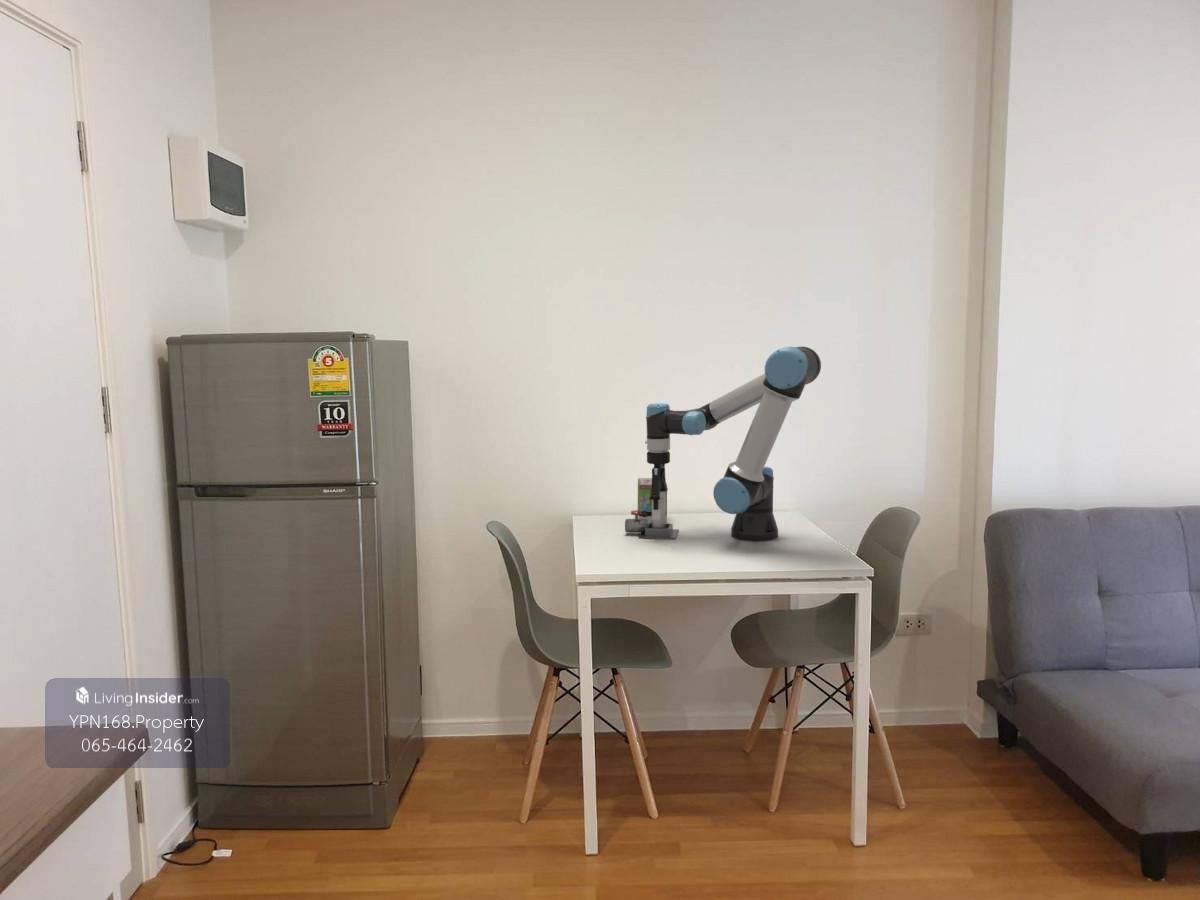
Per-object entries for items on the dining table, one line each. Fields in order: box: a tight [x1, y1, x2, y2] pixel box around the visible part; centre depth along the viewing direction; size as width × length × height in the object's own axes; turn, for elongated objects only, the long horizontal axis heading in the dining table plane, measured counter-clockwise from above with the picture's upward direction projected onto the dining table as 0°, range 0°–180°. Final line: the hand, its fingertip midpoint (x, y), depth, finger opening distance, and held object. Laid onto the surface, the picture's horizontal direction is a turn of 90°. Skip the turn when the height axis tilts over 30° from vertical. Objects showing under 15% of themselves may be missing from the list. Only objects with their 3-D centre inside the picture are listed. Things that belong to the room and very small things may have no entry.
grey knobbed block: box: [624, 509, 680, 541], centre depth 282 cm, size 17×12×8 cm
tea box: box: [637, 477, 668, 524], centre depth 302 cm, size 15×10×15 cm
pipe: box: [652, 496, 666, 528], centre depth 281 cm, size 4×4×12 cm
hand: (658, 515), depth 282 cm, fingers open, 13 cm apart
